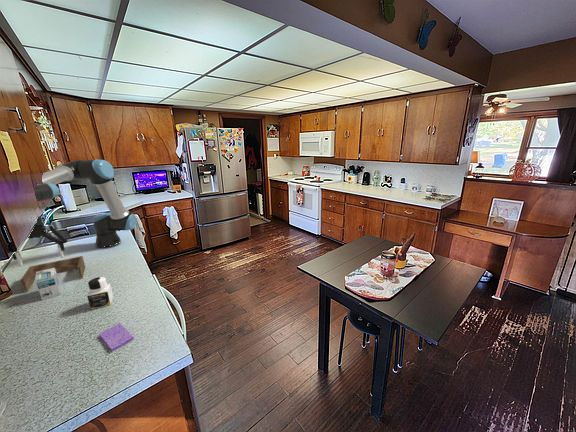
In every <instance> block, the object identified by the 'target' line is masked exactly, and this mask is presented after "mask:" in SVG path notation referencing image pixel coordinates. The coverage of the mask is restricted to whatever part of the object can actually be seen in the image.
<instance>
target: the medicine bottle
mask: <svg viewBox="0 0 576 432" xmlns="http://www.w3.org/2000/svg"><path fill="white" fill-rule="evenodd" d="M87 285H88V288H89V291H88V293H87V294H86V295H87V301H88V304H89V305H88V306H89V308H90V310H95V309H100V308H102V307H106V306H110V305H112V301H113V298H114V294H113V289H112V285H111V283H107V279H106V277H104V276H98V277H95V278H92V279H90V280H89V281H88V283H87Z"/></svg>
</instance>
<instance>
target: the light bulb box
mask: <svg viewBox="0 0 576 432" xmlns="http://www.w3.org/2000/svg"><path fill="white" fill-rule="evenodd" d="M34 282H35V284H36V286H37V290H38V292H39V296H40V298H41V301H43V300H47V299H52V298H53V297H57V296H61V295H62V286H61V284H60V280H59V277H58V274H57V273H56V270H55V268H51V269H47V270H43V271H38V272H36V277H35V281H34Z"/></svg>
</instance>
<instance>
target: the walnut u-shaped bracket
mask: <svg viewBox="0 0 576 432" xmlns="http://www.w3.org/2000/svg"><path fill="white" fill-rule="evenodd" d="M51 268H55V270H56V273H58V274H61V273H66V272H69V271H75V270H77V272H78V275H79V276H78V277H79V279H80V280H83V279H84V274H85V269H86V264H85V260H84V257H83V256H82V255H80V256H76V257H71V258H65V259H60V260H55V261H51V262H50V261H49V262H46V263H41V264H36V265H30V266H29V267H28V269H27V270H26V271H25V272H24V275H23V276H22V277H21V278H20V282H21V286H22V289H23V291H24V293H28V292H29V291H30V289H31V287H32V286H33V284H34V283H35V281H34V280H35V277H36V272H38V271H43V270H47V269H51ZM31 285H32V286H31Z"/></svg>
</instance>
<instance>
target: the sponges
mask: <svg viewBox="0 0 576 432" xmlns="http://www.w3.org/2000/svg"><path fill="white" fill-rule="evenodd" d="M98 336H99V338H100V339H101V340H102V341H103V342H104V343H105V345H106V346H107V347H108V349H109V350H110V351H111V352H112V353H113V352H115V351H116V350H118V349H120V348H121V347H124V346H125V345H127V344H128V343H130V342H132V341H134V339H135V337H134V335H133V334H132V333H131V332H130V331H129V330H128V329H127V328H126V327H125V325H123V324H122V323H121V322H119V323H116V324H114V325H113V326H111V327H110V328H107V329H106V330H104V331H102V332H100V333H98Z"/></svg>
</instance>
